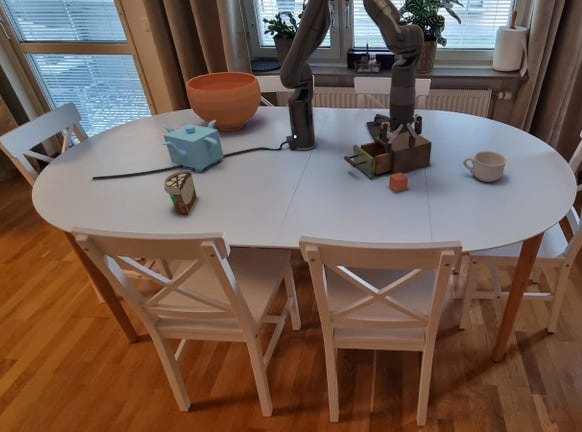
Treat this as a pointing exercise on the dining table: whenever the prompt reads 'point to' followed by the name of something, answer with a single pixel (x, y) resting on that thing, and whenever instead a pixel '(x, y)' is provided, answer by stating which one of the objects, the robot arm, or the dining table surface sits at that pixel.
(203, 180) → the dining table surface
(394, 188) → the block
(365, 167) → the drawer
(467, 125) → the dining table surface
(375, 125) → the dark slate chunk
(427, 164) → the cabinet
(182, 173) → the brown and cream wedge
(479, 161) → the teacup
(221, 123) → the bowl
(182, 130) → the teakettle
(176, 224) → the dining table surface
